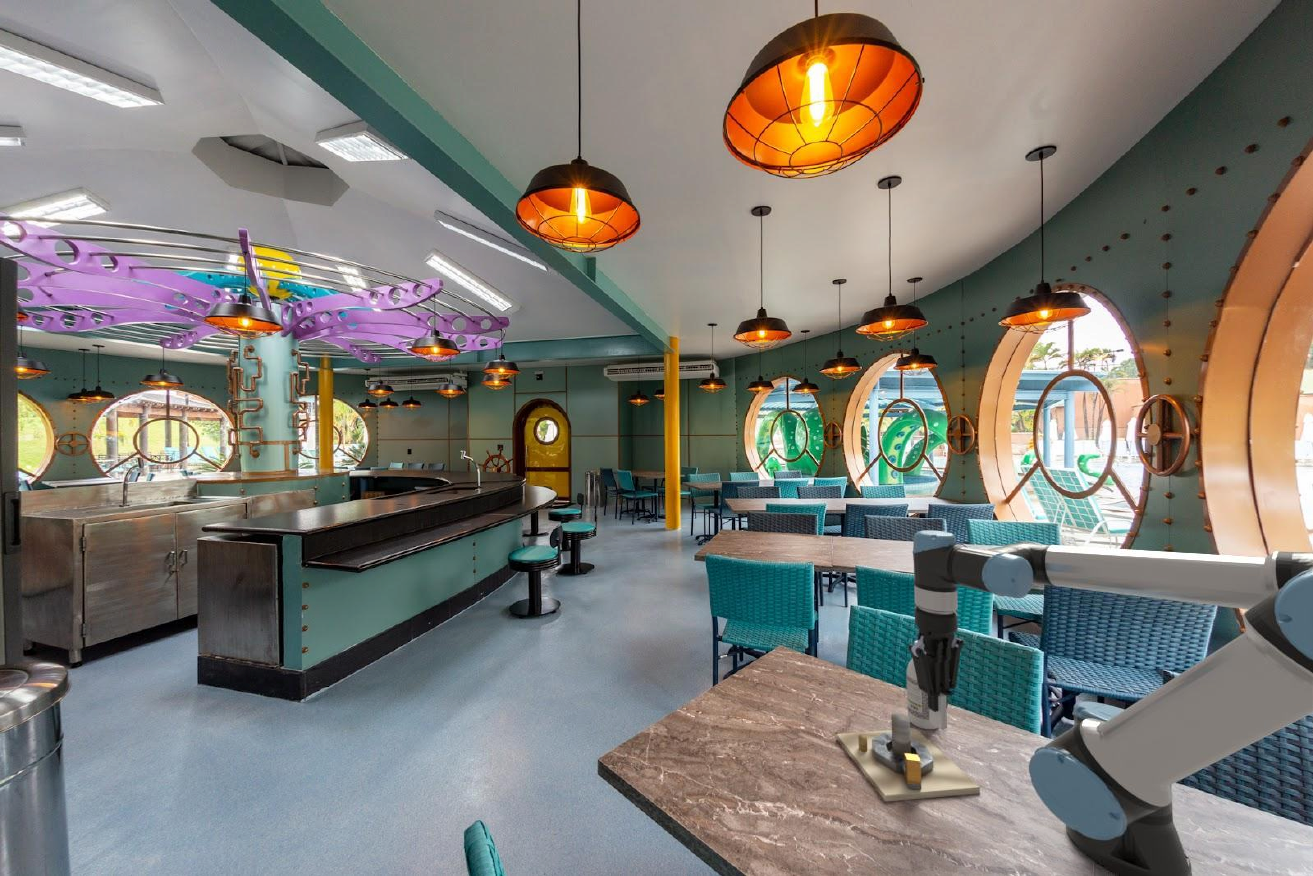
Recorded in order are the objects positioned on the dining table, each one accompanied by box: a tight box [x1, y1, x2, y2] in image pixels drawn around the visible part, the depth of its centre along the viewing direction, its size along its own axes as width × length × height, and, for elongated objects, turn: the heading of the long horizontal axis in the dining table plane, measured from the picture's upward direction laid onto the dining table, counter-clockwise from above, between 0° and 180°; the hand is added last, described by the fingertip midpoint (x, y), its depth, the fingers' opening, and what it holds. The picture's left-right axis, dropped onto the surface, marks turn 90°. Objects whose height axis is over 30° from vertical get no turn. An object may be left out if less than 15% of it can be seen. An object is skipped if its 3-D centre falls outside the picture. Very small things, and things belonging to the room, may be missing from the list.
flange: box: [872, 733, 934, 790], centre depth 100 cm, size 16×11×6 cm
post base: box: [836, 712, 981, 803], centre depth 102 cm, size 20×20×10 cm
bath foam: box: [906, 640, 939, 730], centre depth 118 cm, size 7×7×20 cm
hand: (938, 725), depth 94 cm, fingers closed
